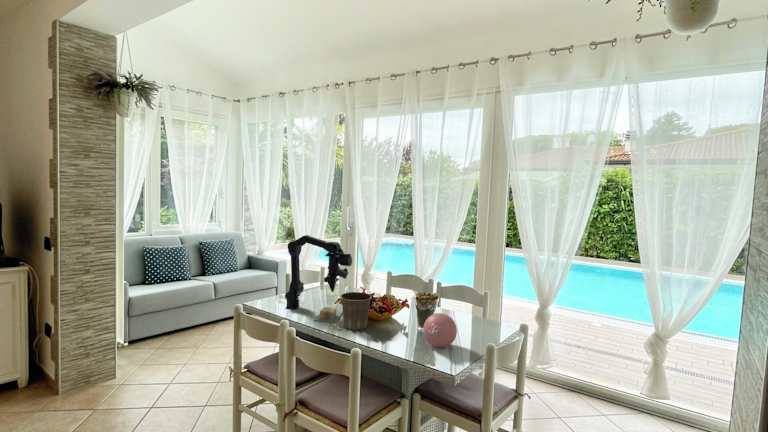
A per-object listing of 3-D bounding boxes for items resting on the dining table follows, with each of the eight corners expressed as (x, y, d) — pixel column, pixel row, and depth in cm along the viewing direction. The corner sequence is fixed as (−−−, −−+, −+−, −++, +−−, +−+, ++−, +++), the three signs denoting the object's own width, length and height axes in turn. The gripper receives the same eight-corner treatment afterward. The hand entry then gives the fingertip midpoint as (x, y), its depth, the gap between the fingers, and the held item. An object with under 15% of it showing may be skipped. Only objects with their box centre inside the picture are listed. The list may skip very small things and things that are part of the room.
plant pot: (366, 333, 201) (367, 301, 201) (335, 329, 205) (336, 298, 204) (373, 323, 217) (374, 293, 216) (344, 320, 221) (345, 291, 220)
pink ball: (413, 351, 180) (414, 317, 180) (429, 338, 198) (430, 307, 197) (446, 359, 173) (448, 324, 173) (460, 344, 191) (461, 312, 190)
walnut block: (323, 314, 228) (319, 318, 219) (323, 307, 228) (319, 311, 219) (335, 315, 227) (332, 319, 218) (336, 308, 227) (332, 312, 218)
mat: (314, 320, 217) (314, 319, 217) (322, 311, 235) (322, 310, 235) (336, 322, 216) (336, 321, 216) (342, 312, 234) (342, 311, 234)
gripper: (344, 268, 221) (343, 296, 222) (350, 262, 239) (349, 288, 240) (324, 267, 222) (323, 295, 223) (332, 261, 241) (331, 287, 241)
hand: (332, 291), depth 232 cm, fingers closed
